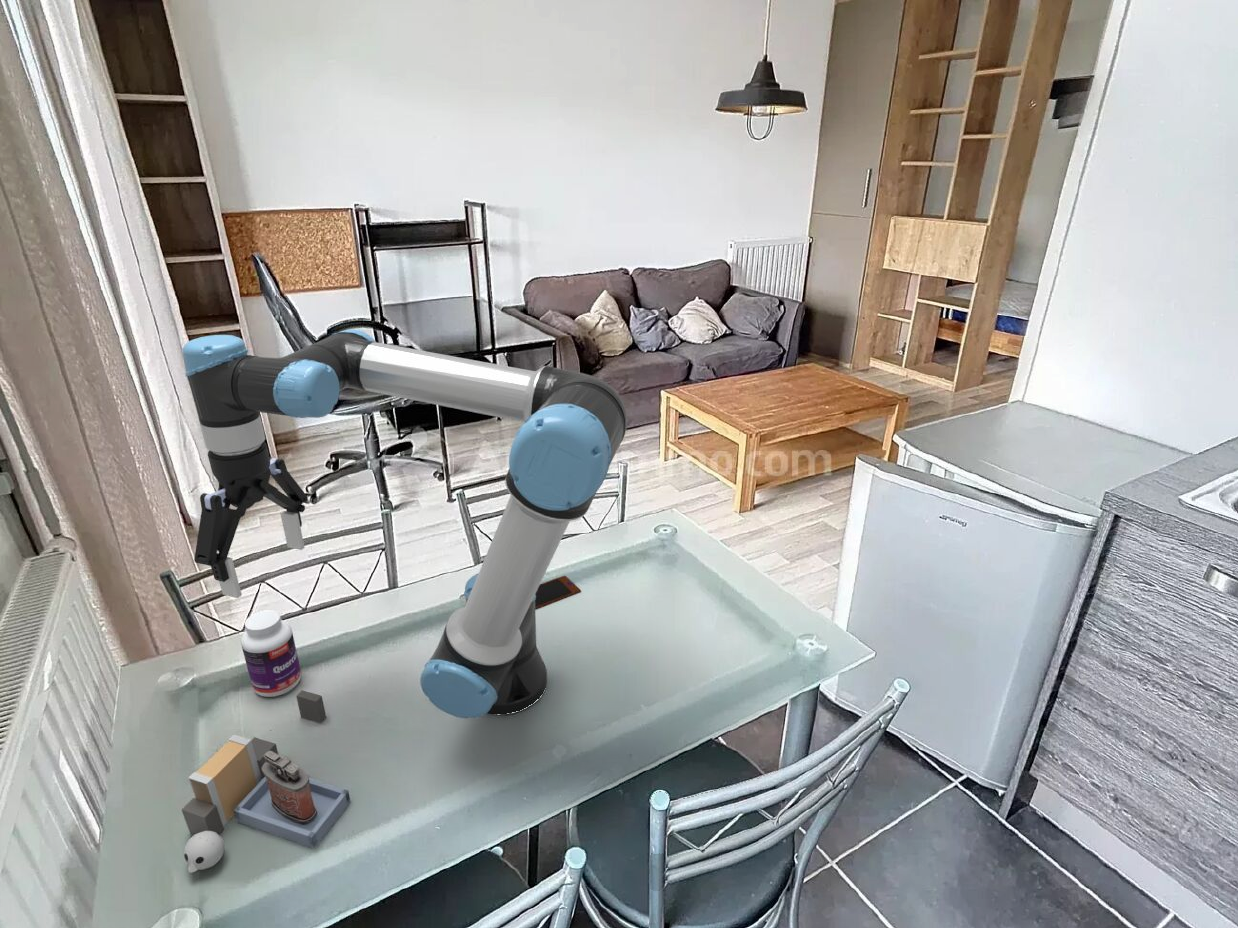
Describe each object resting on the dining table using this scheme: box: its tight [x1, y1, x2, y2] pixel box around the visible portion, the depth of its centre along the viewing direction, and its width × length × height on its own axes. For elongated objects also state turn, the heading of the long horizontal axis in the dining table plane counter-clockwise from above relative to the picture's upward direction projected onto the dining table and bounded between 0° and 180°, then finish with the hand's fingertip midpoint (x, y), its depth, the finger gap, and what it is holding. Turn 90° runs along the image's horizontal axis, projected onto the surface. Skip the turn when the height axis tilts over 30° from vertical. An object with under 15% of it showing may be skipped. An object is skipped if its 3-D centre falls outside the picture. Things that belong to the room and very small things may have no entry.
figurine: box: [183, 831, 225, 873], centre depth 92 cm, size 5×5×5 cm
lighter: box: [262, 751, 317, 825], centre depth 98 cm, size 8×3×10 cm, turn 62°
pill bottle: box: [240, 609, 302, 698], centre depth 120 cm, size 8×8×14 cm
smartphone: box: [535, 575, 582, 611], centre depth 149 cm, size 7×1×15 cm
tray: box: [234, 777, 351, 849], centre depth 100 cm, size 13×8×2 cm, turn 73°
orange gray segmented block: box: [181, 689, 327, 836], centre depth 104 cm, size 4×24×9 cm, turn 163°
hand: (266, 570), depth 106 cm, fingers open, 13 cm apart
